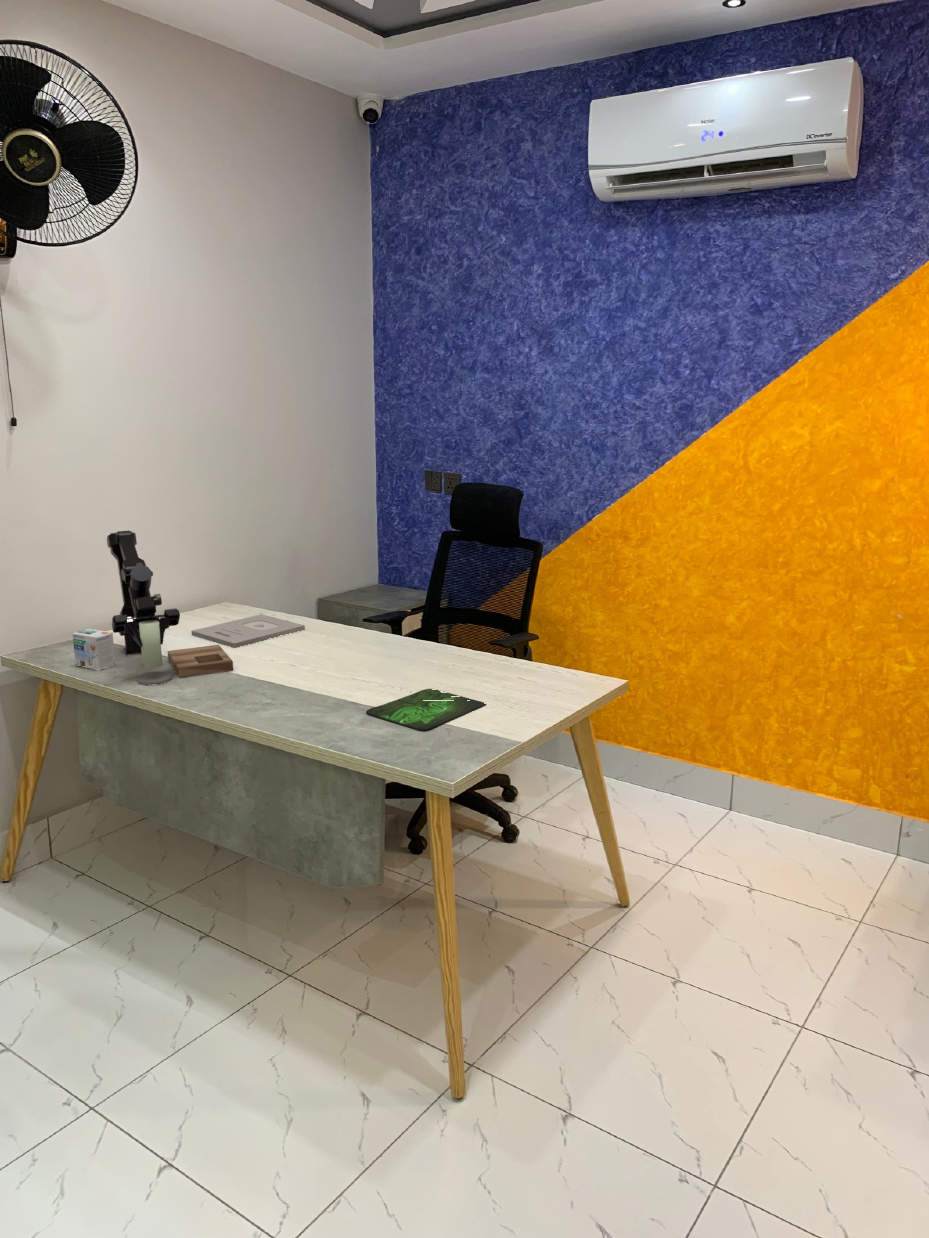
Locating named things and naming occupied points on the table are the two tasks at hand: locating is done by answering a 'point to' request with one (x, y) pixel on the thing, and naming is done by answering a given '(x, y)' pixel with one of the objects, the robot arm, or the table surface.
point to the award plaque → (247, 630)
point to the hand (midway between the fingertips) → (151, 644)
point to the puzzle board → (200, 661)
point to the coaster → (154, 678)
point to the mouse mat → (425, 709)
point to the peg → (150, 644)
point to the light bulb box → (94, 648)
